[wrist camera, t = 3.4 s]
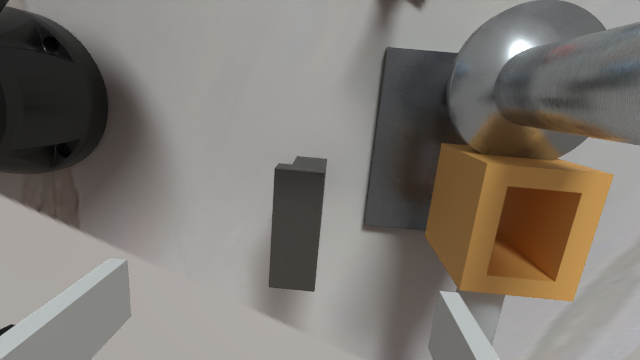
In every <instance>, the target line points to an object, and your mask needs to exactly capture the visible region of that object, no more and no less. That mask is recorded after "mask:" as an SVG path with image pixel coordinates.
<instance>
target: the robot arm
mask: <svg viewBox="0 0 640 360" xmlns="http://www.w3.org/2000/svg"><path fill="white" fill-rule="evenodd" d="M8 1H9V0H0V172H6V173H20V174H38V173H46V172H50V171H54V170H58V169H62V168H65V167H69V166H71V165H74V164H76V163H78V162H80V161H81V160H83V159H84V158H85V157H87V156H88V155H89V154H90V153H91V152H92V151H93V150H94V148H95V147H96V146H97V144H98V143H99V141H100V139H101V137H102V135H103V132H104V129H105V125H106V121H107V111H108V105H107V95H106V90H105V86H104V82H103V79H102V76H101V74H100V71H99V69H98V67H97V65H96V63H95V62H94V60H93V58H92V57H91V55H90V54H89V52H88V51H87V50H86V48H85V47H84V46H83V45H82V44H81V42H80V41H79V40H78V39H77V38H76V37H75V36H74V35H72V34H71V33H70V32H69V31H68V30H66V29H65V28H64V27H62V26H61V25H59V24H57V23H56V22H54V21H52V20H50V19H48V18H46V17H43V16H41V15H38V14H34V13H31V12H27V11H23V10H20V9H16V8H12V7H6V6H5V5H6V4H7V2H8ZM130 317H131V307H130V292H129V278H128V265H127V260H125V259H115V258H109V259H107V260H106V261H104V262H103V263H102V264H100V265H99V266H98V267H96V268H95V269H93V270H92V271H90V272H89V273H88V274H86V275H85V276H83V277H82V278H81V279H79V280H78V281H77V282H75V283H74V284H72V285H71V286H70V287H68V288H67V289H65V290H64V291H63V292H61V293H60V294H58V295H57V296H55V297H54V298H53V299H51V300H50V301H49V302H47V303H46V304H44V305H43V306H42V307H40V308H39V309H37V310H36V311H35V312H33V313H32V314H30V315H29V316H28V317H26V318H25V319H23V320H22V321H21V322H19V323H18V324H16V325H12V324H11V325H9V326H7V327H5V328H3V329H1V330H0V360H91V359H92V357H93V356H94V355H95V354H96V353H97V352H98V351H99V350H100V349H101V348H102V346H104V345H105V343H106V342H107V341H108V340H109V339H110V338H111V337H112V336H113V335H114V334H115V333H116V331H118V330H119V328H120V327H121V326H122V325H123V324H124V323H125V322H126V321H127V320H128V319H129V318H130ZM428 347H429V350H430V353H431V355H432V358H433V360H500V359H499V357H498V355H497V354H496V352H495V351H494V349H493V348H492V346H491V344H490V343H489V341H488V340H487V338H486V336H485V335H484V333H483V332H482V330H481V328H480V327H479V325H478V324H477V322H476V320H475V319H474V317H473V316H472V314H471V312H470V311H469V309H468V308H467V306H466V305H465V303H464V301H463V300H462V298H461V297H460V295H459V293H456V292H446V291H439V296H438V301H437V306H436V311H435V316H434V321H433V326H432V331H431V336H430V341H429V346H428Z"/></svg>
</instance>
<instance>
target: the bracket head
mask: <svg viewBox="0 0 640 360" xmlns="http://www.w3.org/2000/svg"><path fill="white" fill-rule="evenodd" d="M613 176H614V175H613V174H609V173H606V172H602V171H599V170H595V169H592V168H588V167H585V166H581V165H578V164H574V163H571V162H567V161H564V160H560V159H557V158H556V159H554V160H551V161H550V160H539V159H528V158H517V157H506V156H495V155H484V154H480V153H478V152H475V151H474V150H472V149H471V148H470V147H469V146H468V145H458V144H447V143H442V144H441V150H440V155H439V161H438V166H437V172H436V177H435V183H434V188H433V194H432V199H431V205H430V211H429V216H428V222H427V227H426V233H425V238H426V239H427V241H428V242H429V244H430V245H431V247H432V248H433V250H434V252H435V253H436V255H437V256H438V258H439V259H440V261H441V262H442V264H443V266H444V267H445V269H446V270H447V272H448V273H449V275H450V276H451V278H452V279H453V281H454V283H455V284H456V286H457V290H456V293H459V295H460V297H461V298H462V300H463V301H464V303H465V305H466V306H467V308H468V309H469V311H470V312H471V314H472V316H473V317H474V319H475V320H476V322H477V324H478V325H479V327H480V328H481V330H482V332H483V333H484V335H485V336H486V338H487V340H488V341H489V343H490V344H491V346H492V343H493V340H494V336H495V332H496V328H497V324H498V320H499V317H500V313H501V309H502V305H503V301H504V297H505V295H513V296H523V297H533V298H543V299H554V300H564V301H573V300H574V296H575V293H576V290H577V287H578V284H579V281H580V278H581V275H582V272H583V269H584V266H585V262H586V259H587V256H588V253H589V250H590V247H591V244H592V241H593V238H594V235H595V232H596V228H597V225H598V222H599V219H600V216H601V213H602V210H603V207H604V204H605V201H606V197H607V194H608V191H609V188H610V185H611V182H612V179H613Z"/></svg>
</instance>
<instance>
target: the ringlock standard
mask: <svg viewBox="0 0 640 360" xmlns="http://www.w3.org/2000/svg"><path fill="white" fill-rule="evenodd" d="M588 137H592V138H598V139H604V140H610V141H616V142H622V143H628V144H634V145H640V22H638V23H633V24H629V25H625V26H621V27H617V28H612V29H608V30H606V29H605V27H604V26H603V24H602V23H601V22H600V21H599V20H598V19H597V18H596V17H595V16H594V15H592V14H591V13H590V12H588V11H587V10H585V9H583V8H581V7H579V6H577V5H575V4H572V3H569V2H565V1H559V0H537V1H531V2H527V3H523V4H520V5H517V6H515V7H512V8H510V9H508V10H506V11H504V12H502V13H500V14H498V15H496V16H494V17H493V18H491V19H489V20H488V21H487V22H485V23H484V24H483V25H481V26H480V27H479V28H478V29H477V30H476V31H475V32H474V33H473V34H472V35H471V36H470V37H469V38H468V40H467V41H466V42H465V44H464V45H463V46H462V48H461V49H460V51H459V53H449V52H437V51H426V50H414V49H402V48H390V47H388V48H387V49H386V54H385V62H384V70H383V78H382V86H381V94H380V101H379V109H378V117H377V125H376V133H375V141H374V148H373V156H372V164H371V172H370V180H369V188H368V195H367V203H366V211H365V219H364V222H365V225H371V226H382V227H392V228H403V229H414V230H424V231H426V227H427V222H428V216H429V211H430V205H431V199H432V194H433V188H434V183H435V177H436V172H437V166H438V161H439V155H440V150H441V144H442V143H447V144H458V145H468V146H469V147H470V148H471V149H472V150H474V151H475V152H478V153H480V154H484V155H495V156H506V157H517V158H528V159H539V160H550V161H551V160H554V159H556V158H558V157H561V156H563V155H565V154H566V153H568V152H570V151H571V150H573V149H574V148H576V147H577V146H578V145H580V144H581V143H582V142H583V141H584V140H585V139H586V138H588Z"/></svg>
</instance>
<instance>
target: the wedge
mask: <svg viewBox="0 0 640 360" xmlns="http://www.w3.org/2000/svg"><path fill="white" fill-rule="evenodd" d="M326 163H327V159H321V158H310V157H299V156H297V157H296V159H295V161H294V163H293V164H292V165H291V164H280V163H279V164H278V165H277V166H276V168H275V175H274V195H273V214H272V234H271V254H270V273H269V287H272V288H282V289H292V290H303V291H313V292H314V290H315V280H316V269H317V258H318V247H319V237H320V227H321V217H322V206H323V196H324V185H325V174H326Z"/></svg>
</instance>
